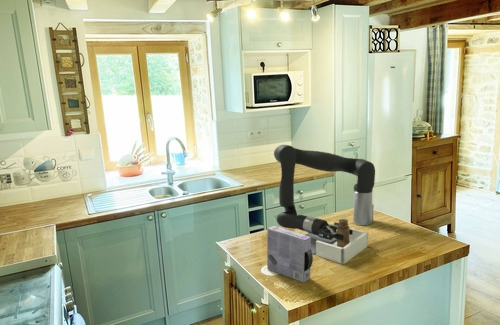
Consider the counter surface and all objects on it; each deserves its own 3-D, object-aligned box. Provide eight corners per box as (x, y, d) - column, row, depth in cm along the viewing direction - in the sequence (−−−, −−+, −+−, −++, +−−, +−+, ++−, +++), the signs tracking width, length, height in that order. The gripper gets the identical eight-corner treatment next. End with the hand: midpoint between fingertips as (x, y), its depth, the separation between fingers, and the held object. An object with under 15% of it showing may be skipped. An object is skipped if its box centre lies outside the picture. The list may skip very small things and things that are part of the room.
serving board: (314, 231, 186) (314, 229, 186) (339, 238, 176) (339, 236, 176) (287, 247, 170) (287, 244, 170) (313, 255, 161) (313, 253, 161)
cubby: (341, 239, 175) (341, 225, 174) (367, 247, 166) (368, 232, 165) (316, 256, 160) (315, 241, 159) (343, 265, 151) (343, 249, 150)
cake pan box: (313, 279, 143) (313, 236, 139) (306, 284, 139) (305, 240, 135) (274, 264, 155) (272, 224, 151) (266, 269, 152) (264, 228, 148)
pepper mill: (343, 247, 166) (344, 217, 163) (351, 251, 162) (352, 221, 159) (334, 249, 164) (334, 220, 161) (342, 254, 160) (342, 223, 157)
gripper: (306, 223, 165) (339, 232, 154) (323, 214, 175) (356, 221, 164) (306, 239, 167) (339, 249, 156) (323, 228, 177) (356, 237, 166)
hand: (348, 235), depth 160 cm, fingers open, 6 cm apart
